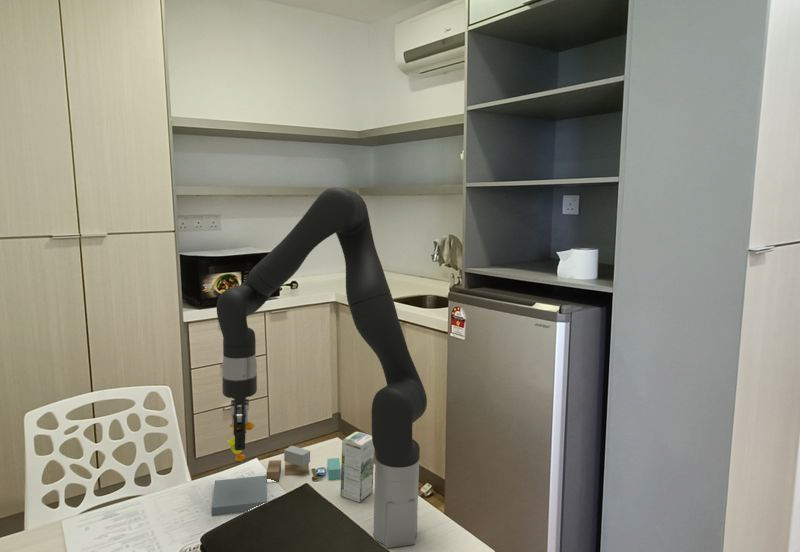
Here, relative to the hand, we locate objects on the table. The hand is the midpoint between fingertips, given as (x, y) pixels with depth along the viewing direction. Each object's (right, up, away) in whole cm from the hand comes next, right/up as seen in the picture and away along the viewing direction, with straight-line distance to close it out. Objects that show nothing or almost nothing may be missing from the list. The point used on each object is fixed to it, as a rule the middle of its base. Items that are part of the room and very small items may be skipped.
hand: (240, 444), depth 124 cm
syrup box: (+27, -14, +5) cm, 30 cm away
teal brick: (+20, -12, +15) cm, 27 cm away
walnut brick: (+5, -12, +12) cm, 18 cm away
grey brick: (+10, -9, +15) cm, 20 cm away
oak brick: (+10, -12, +15) cm, 22 cm away
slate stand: (-1, -13, +2) cm, 13 cm away
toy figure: (0, -3, 0) cm, 4 cm away
